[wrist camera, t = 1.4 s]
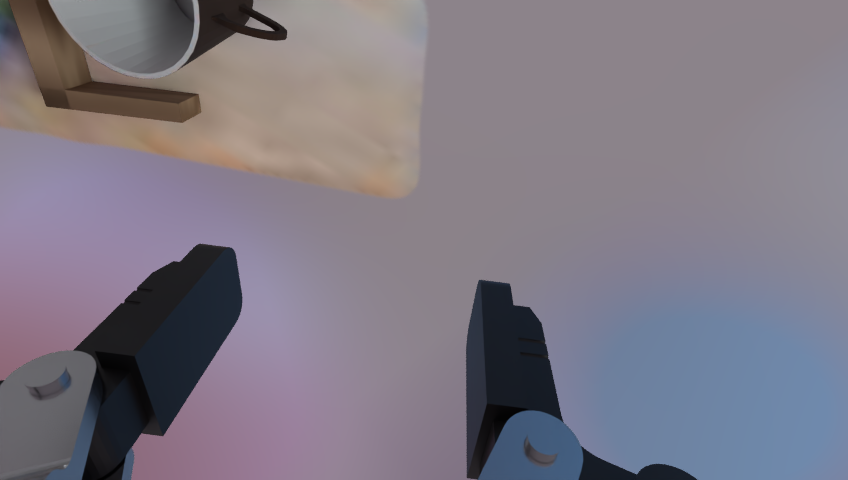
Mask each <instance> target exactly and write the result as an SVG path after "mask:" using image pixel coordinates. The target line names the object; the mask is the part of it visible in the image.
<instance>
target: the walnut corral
mask: <svg viewBox="0 0 848 480" xmlns="http://www.w3.org/2000/svg"><path fill="white" fill-rule="evenodd" d="M9 3H10V6H11V9H12V12H13V14H14V17H15V20H16V23H17V26H18V28H19V31H20V34H21V37H22V40H23V42H24V45H25V48H26V51H27V54H28V56H29V59H30V62H31V65H32V68H33V71H34V73H35V76H36V79H37V82H38V85H39V87H40V90H41V93H42V96H43V99H44V101H45V104H46V106H47V107H56V108H64V109H72V110H80V111H89V112H97V113H105V114H114V115H122V116H130V117H138V118H147V119H155V120H163V121H172V122H180V123H183V122H185V121H186V120H188V119H190V118H192V117H194V116H195V115H197V114H199V113H201V107H200V101H199V95H198V94H192V93H184V92H175V91H167V90H158V89H150V88H142V87H133V86H125V85H117V84H108V83H100V82H92V79H91V76H90V72H89V69H88V66H87V62H86V59H85V55H84V52H83V49H82V48H81V47H80V46H79V45H78V44H77V43H76V42H75V41H74V40H73V39H72V38H71V37H70V35H69V34H68V33H67V31H66V30H65V28H64V27H63V26H62V24H61V23H60V22H59V20H58V18H57V17H56V15H55V13H54V11H53V9H52V8H51V6H50V4H49V1H48V0H9Z"/></svg>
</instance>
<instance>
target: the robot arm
mask: <svg viewBox="0 0 848 480" xmlns="http://www.w3.org/2000/svg"><path fill="white" fill-rule="evenodd" d="M241 308H242V292H241V286H240V279H239V272H238V266H237V259H236V254H235V252H234V250H233V249H232V248H230V247H221V246H213V245H206V244H198V245H196V246H195V247H194V248H193V249H192V250H191V251H190V252H189V253H188V254H187V255H186V256H185V257H184V258H183V260H182V261H180V262H175V261H173V262H172V263H170V264H168V265H166V266H164V267H162V268H160V269H159V270H157V271H155V272H153V273H152V274H151V275H150V276H149V277H148V278H147V279H146V280H145V281H144V282H142V284H140V285H139V286H138V287H137V291H133V292H132V293H131V294H130V295H129V296H128V297H127V298H126V299H125V302H124V303H121V304H120V305H119V306H118V307H117V308H116V309H115V310H114V311H113V312H112V313H111V314H110V315H109V316H108V317H107V318H106V319H105V320H104V321H103V322H102V323H101V324H100V325H99V326H98V327H97V328H96V329H95V330H94V331H93V332H91V333H90V334H89V335H88V337H86V338H85V339H84V340H83V341H82V342H81V343H80V344H79V345H78V346H77V347H76V348H75V349H74V350H73V351H59V352H55V353H50V354H47V355H44V356H41V357H39V358H36V359H34V360H32V361H30V362H28V363H26V364H24V365H23V366H21V367H19V368H18V369H17V370H15V371H14V372H13V373H11V374H10V375H9V376H8V377H7V378H6V379H5V380H3V381H0V480H131V476H132V470H133V464H134V452H133V449H132V446H133V444H134V443H135V442H136V440H137V439H138V437H139V436H140V434H141V433H143V434H150V435H159V436H163V435H164V434H165V432H166V431H167V429H168V428H169V426H170V425H171V423H172V421H173V420H174V418H175V417H176V415H177V414H178V412H179V411H180V409H181V407H182V406H183V404H184V403H185V401H186V399H187V398H188V396H189V395H190V393H191V392H192V390H193V389H194V387H195V386H196V384H197V383H198V381H199V379H200V378H201V376H202V375H203V373H204V372H205V370H206V368H207V367H208V365H209V364H210V362H211V361H212V359H213V358H214V356H215V355H216V353H217V351H218V350H219V348H220V346H221V345H222V344H223V342H224V341H225V339H226V337H227V336H228V334H229V333H230V331H231V330H232V328H233V327H234V325H235V323H236V322H237V320H238V317H239V315H240V312H241ZM466 379H467V380H466V387H467V388H466V397H467V400H466V401H467V402H466V404H467V478H471V479H478V480H697V479H696V478H694V477H693V476H691V475H690V474H688V473H686V472H685V471H683V470H681V469H678V468H676V467H673V466H669V465H665V464H664V465H663V464H652V465H649V466H646V467H644V468H643V469H641V470H640V471H639V473H638V474H637V475H636V474H634V473H632V472H629V471H627V470H625V469H623V468H620V467H618V466H616V465H613V464H611V463H608V462H606V461H604V460H602V459H600V458H598V457H596V456H594V455H592V454H591V453H590V452H588V451H587V450H586V449H584V448H583V447H582V446H581V445H580V443H579V441H578V439H577V437H576V436H575V434H574V433H573V432H572V431H571V429H570V428H569V427H568V426H567V425H566V424H564V422H563V419H562V416H561V412H560V408H559V403H558V398H557V394H556V389H555V384H554V380H553V375H552V370H551V365H550V361H549V359H548V351H547V347H546V344H545V338H544V333H543V328H542V324H541V322H540V321H539V319H538V318H537V317H536V315H535V314H534V313H533V312H532V310H531V309H530V307H523V306H515V305H513V300H512V293H511V287H510V284H508V283H501V282H493V281H485V280H479V282H478V285H477V289H476V294H475V299H474V304H473V309H472V314H471V318H470V323H469V328H468V335H467V346H466Z"/></svg>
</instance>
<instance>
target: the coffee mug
mask: <svg viewBox="0 0 848 480" xmlns="http://www.w3.org/2000/svg"><path fill="white" fill-rule="evenodd" d="M48 1H49V4H50V6H51V8H52V9H53V11H54V13H55V15H56V17H57V18H58V20H59V22H60V23H61V24H62V26H63V27H64V28H65V30H66V31H67V33H68V34H69V35H70V37H71V38H72V39H73V40H74V41H75V42H76V43H77V44H78V45H79V46H80V47H81V48H82V49H83V50H84V51H85V52H87V53H88V54H89V55H90V56H91V57H93V58H94V59H95V60H96V61H98V62H100V63H101V64H103V65H105V66H106V67H108V68H110V69H111V70H114V71H116V72H119V73H121V74H124V75H126V76H131V77H135V78H140V79H155V78H159V77H164V76H167V75H169V74H171V73H173V72H175V71H177V70H179V69H180V68H182V67H183V66H185V65H186V64H188V63H189V62H191V61H193V60H194V59H196V58H197V57H199V56H200V55H202V54H203V53H205V52H207V51H208V50H210V49H211V48H213V47H214V46H216V45H217V44H219V43H220V42H222V41H224V40H225V39H227V38H228V37H230V36H231V35H233V34H234V33H236V32H237V33H241V34H245V35H248V36H252V37H257V38H261V39H267V40H276V41H277V40H285V39H286V38H287V30H286V29H285V28H284V27H283V26H281V25H280V24H278V23H277V22H275V21H273V20H272V19H270V18H268V17H266V16H264V15H262V14H260V13H258V12H257V11H254V10H253V9H252V7H253V0H48ZM249 17H252V18H254V19H256V20H258V21H260V22H262V23H264V24H265V25H267V26H269V27H271V28H272V29H273V30H275V31H265V30H260V29H255V28H251V27H247V26H244V25H245V24H246V22H247V21H248V20H249Z"/></svg>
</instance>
